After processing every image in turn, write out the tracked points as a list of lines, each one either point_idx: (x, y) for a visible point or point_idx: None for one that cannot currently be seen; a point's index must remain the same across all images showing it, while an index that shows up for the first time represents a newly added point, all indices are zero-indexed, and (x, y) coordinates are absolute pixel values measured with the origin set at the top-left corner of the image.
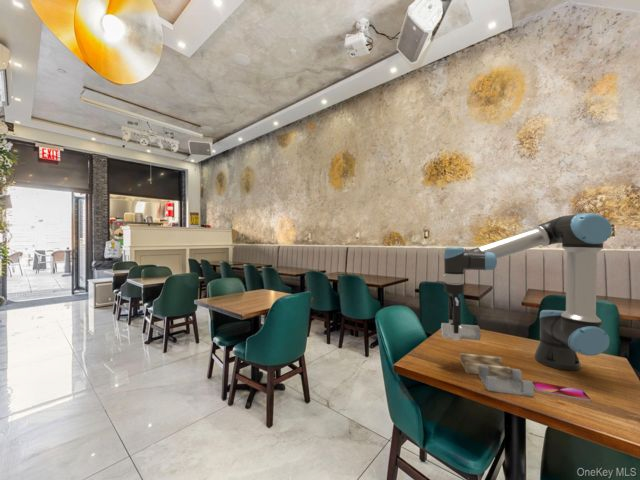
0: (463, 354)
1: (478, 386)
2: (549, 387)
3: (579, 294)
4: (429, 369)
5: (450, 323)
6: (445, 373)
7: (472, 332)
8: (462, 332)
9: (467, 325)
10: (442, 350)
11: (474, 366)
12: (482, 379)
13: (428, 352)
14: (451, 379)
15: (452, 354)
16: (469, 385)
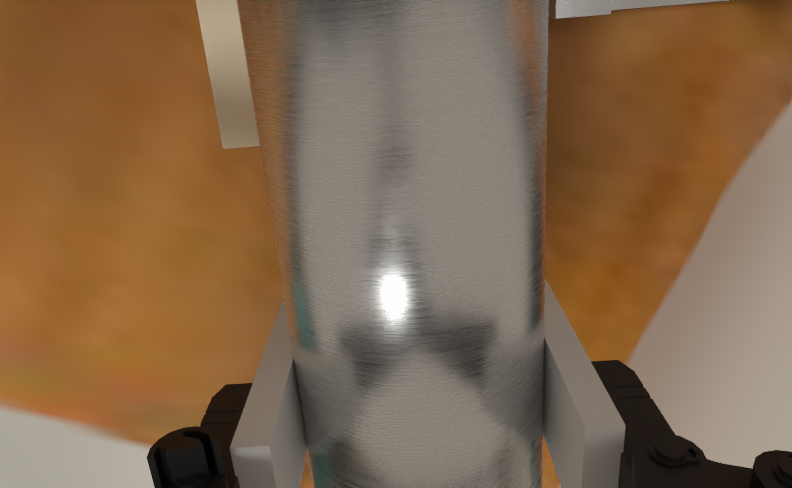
0: (253, 118)
1: (723, 57)
2: None
3: None
4: None
5: (293, 483)
6: (552, 274)
7: (545, 128)
8: (543, 290)
9: (438, 234)
10: (54, 259)
11: None
12: (648, 6)
13: (171, 372)
14: (645, 242)
15: (111, 180)
16: (719, 125)
